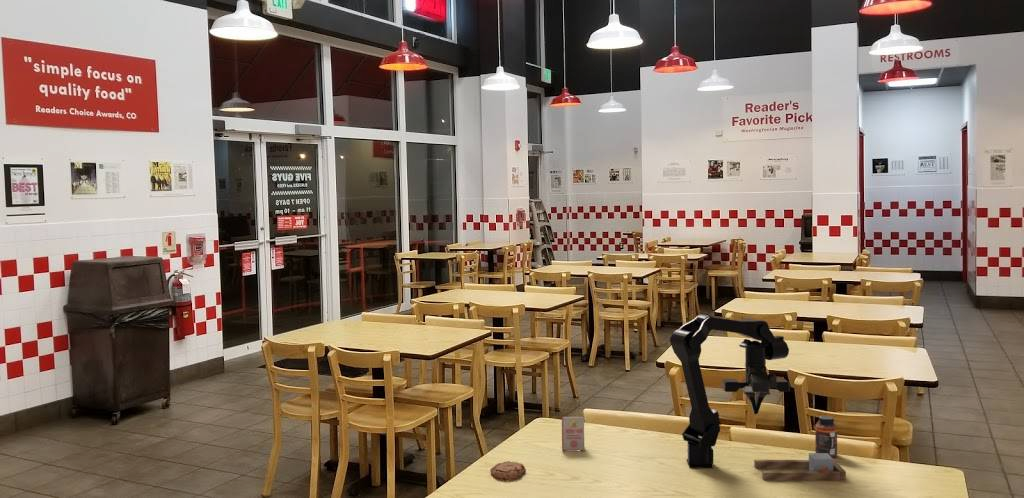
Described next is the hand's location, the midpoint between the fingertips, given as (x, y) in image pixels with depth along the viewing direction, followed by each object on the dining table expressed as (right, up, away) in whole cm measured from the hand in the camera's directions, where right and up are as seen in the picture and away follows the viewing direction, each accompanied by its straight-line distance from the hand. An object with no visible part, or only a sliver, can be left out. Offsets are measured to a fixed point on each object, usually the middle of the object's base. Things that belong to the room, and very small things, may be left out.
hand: (755, 413), depth 235 cm
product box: (-53, -13, +9) cm, 56 cm away
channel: (+6, -13, -17) cm, 22 cm away
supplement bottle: (+20, -12, -2) cm, 23 cm away
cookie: (-73, -15, -12) cm, 75 cm away
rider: (+13, -13, -17) cm, 25 cm away
